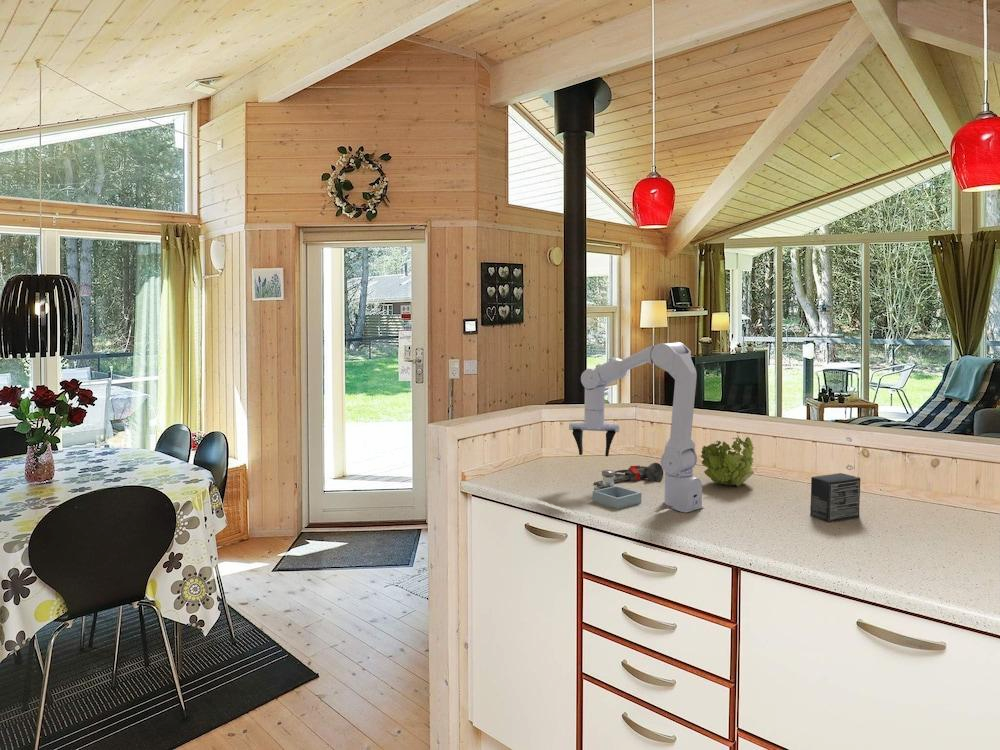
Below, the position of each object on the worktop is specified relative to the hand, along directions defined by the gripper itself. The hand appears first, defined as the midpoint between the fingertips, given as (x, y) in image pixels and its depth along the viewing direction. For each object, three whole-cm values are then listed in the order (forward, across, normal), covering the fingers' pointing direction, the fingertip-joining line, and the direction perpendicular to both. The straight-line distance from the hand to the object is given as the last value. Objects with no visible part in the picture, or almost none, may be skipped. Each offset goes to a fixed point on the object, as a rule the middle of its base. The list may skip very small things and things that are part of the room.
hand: (593, 455), depth 200 cm
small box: (+10, -63, +12) cm, 65 cm away
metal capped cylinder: (+9, -5, +6) cm, 12 cm away
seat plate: (+10, -5, +6) cm, 13 cm away
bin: (+10, -8, +15) cm, 20 cm away
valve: (+11, -8, -12) cm, 18 cm away
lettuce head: (+10, -38, -16) cm, 43 cm away
